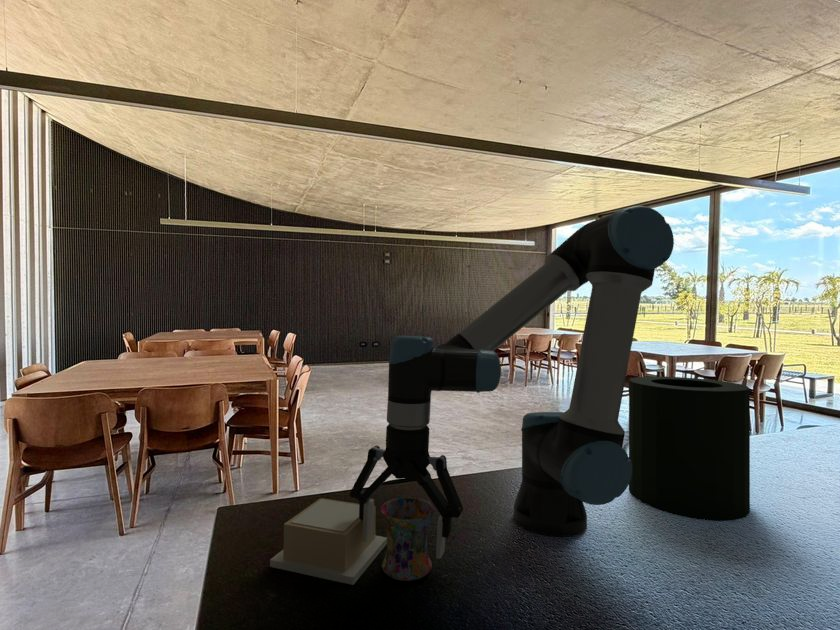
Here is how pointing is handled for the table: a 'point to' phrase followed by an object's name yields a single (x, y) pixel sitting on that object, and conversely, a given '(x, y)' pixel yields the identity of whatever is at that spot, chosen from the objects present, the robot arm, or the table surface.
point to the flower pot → (690, 446)
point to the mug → (407, 538)
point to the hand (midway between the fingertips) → (402, 546)
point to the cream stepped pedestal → (328, 542)
